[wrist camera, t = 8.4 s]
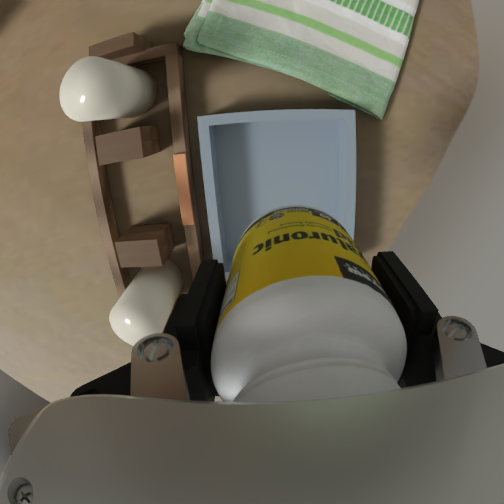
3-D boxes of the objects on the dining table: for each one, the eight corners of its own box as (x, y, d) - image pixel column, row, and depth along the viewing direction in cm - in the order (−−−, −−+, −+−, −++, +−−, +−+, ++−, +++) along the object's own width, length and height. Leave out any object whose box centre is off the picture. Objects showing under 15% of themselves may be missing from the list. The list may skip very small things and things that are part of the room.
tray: (204, 116, 23) (197, 116, 20) (345, 110, 22) (355, 110, 20) (220, 264, 29) (216, 280, 26) (343, 259, 28) (350, 274, 25)
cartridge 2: (137, 258, 29) (102, 302, 22) (179, 256, 29) (152, 303, 21) (147, 296, 31) (119, 345, 24) (187, 296, 31) (166, 348, 23)
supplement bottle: (368, 219, 13) (495, 388, 4) (328, 316, 15) (367, 500, 6) (249, 187, 13) (206, 363, 4) (223, 294, 15) (182, 489, 6)
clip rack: (87, 61, 21) (63, 57, 17) (181, 36, 20) (167, 23, 16) (132, 313, 32) (119, 335, 28) (213, 314, 31) (207, 338, 28)
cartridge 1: (109, 76, 22) (58, 68, 14) (155, 64, 21) (113, 47, 14) (113, 122, 23) (62, 128, 16) (159, 112, 23) (117, 112, 16)
